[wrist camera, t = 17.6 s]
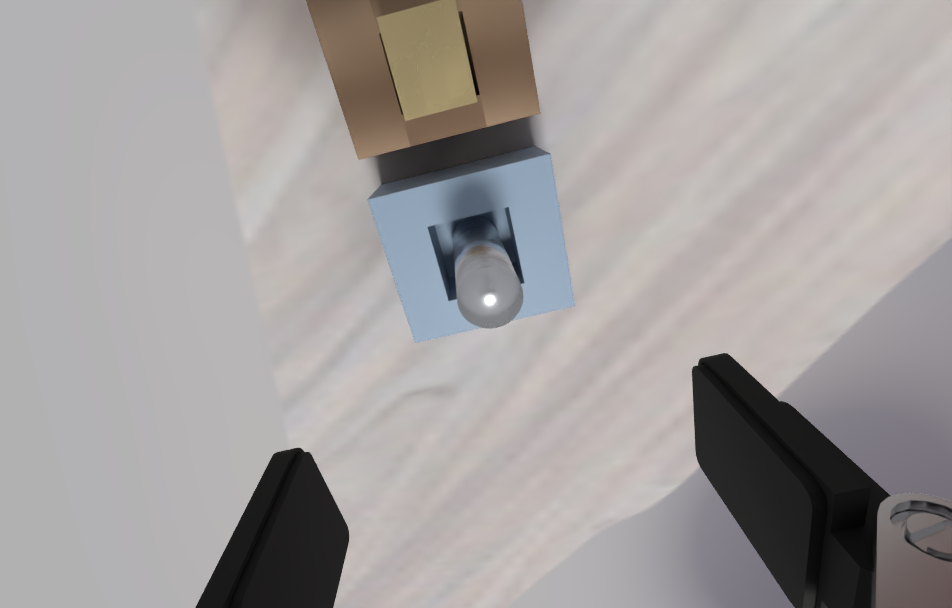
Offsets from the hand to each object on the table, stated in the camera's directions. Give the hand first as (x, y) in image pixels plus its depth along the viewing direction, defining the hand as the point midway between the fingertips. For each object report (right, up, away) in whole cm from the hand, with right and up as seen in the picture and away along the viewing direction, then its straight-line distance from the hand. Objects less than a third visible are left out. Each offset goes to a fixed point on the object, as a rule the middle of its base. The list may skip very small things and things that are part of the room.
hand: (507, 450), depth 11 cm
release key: (-3, +17, +15) cm, 22 cm away
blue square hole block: (-1, +8, +20) cm, 21 cm away
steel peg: (-1, +8, +19) cm, 20 cm away
